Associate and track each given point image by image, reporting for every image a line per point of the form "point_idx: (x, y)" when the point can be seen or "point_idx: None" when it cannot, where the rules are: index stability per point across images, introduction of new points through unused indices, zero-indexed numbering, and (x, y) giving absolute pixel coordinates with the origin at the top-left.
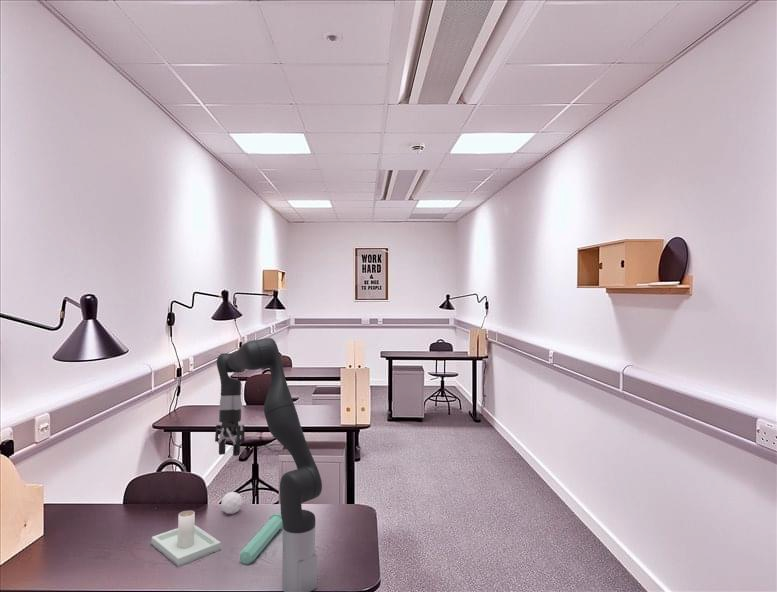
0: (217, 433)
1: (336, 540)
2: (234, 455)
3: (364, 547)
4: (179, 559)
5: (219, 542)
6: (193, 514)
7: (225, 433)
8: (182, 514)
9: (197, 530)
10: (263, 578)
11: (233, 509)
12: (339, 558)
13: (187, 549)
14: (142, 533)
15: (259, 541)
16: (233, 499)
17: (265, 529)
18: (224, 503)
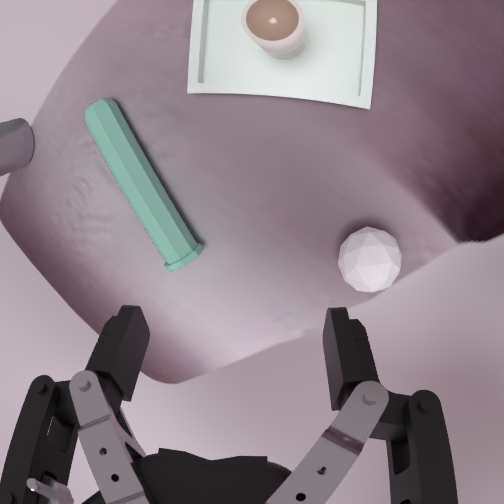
0: (418, 476)
1: (84, 275)
2: (123, 305)
3: (53, 279)
4: None
5: (189, 90)
6: (245, 31)
7: (241, 499)
8: (276, 4)
9: (312, 89)
10: (56, 110)
11: (343, 242)
12: (43, 234)
13: None
14: (451, 32)
15: (103, 155)
16: (351, 259)
17: (131, 197)
18: (370, 235)
